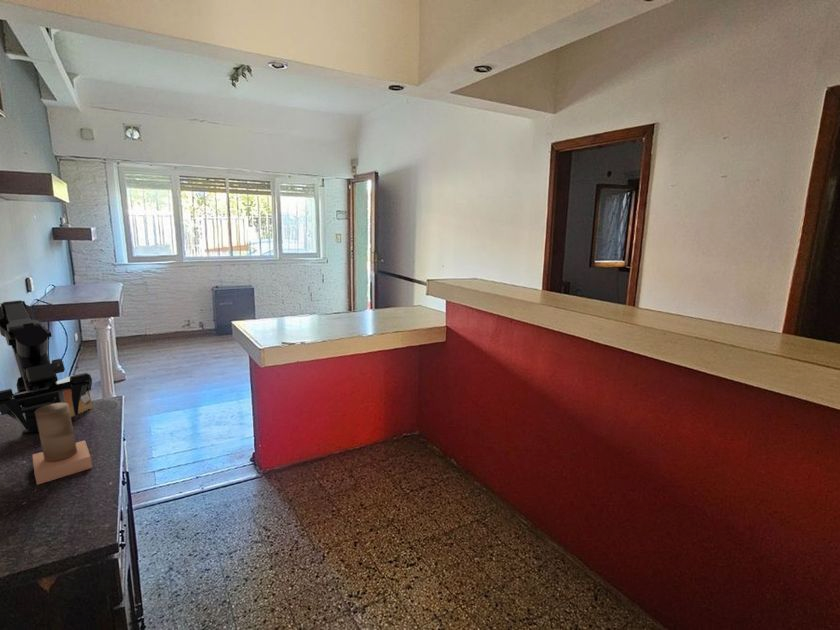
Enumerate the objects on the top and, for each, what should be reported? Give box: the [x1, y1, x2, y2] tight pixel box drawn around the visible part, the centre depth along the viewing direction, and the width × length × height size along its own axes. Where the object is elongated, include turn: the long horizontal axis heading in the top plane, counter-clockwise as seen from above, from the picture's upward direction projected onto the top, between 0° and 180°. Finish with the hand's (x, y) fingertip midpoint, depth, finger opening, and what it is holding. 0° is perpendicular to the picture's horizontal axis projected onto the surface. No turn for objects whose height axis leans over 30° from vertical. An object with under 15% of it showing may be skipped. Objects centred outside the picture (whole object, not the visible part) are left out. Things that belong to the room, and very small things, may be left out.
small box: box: [57, 374, 93, 418], centre depth 130 cm, size 8×6×10 cm
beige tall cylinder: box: [35, 403, 77, 462], centre depth 102 cm, size 6×6×12 cm
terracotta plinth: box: [32, 440, 93, 486], centre depth 103 cm, size 10×10×3 cm
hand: (52, 422), depth 103 cm, fingers open, 9 cm apart
